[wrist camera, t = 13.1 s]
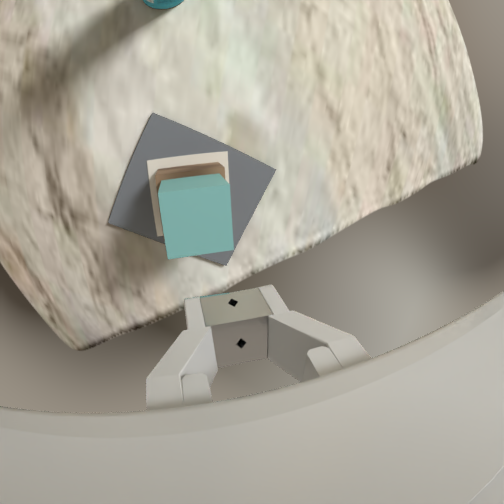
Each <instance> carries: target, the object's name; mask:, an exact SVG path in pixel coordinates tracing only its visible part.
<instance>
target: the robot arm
mask: <svg viewBox="0 0 504 504" xmlns="http://www.w3.org/2000/svg"><path fill="white" fill-rule="evenodd" d="M184 306H185V314H186V322H187V330H184V331H182V333H181V334H180V335H179V336H178V338H177V339H176V340H175V342H174V343H173V344H172V346H171V347H170V348H169V350H168V351H167V352H166V353H165V355H164V356H163V357H162V359H161V360H160V361H159V363H158V364H157V365H156V366H155V368H154V369H153V370H152V372H151V373H150V374H149V376H148V377H147V379H146V405H147V411H133V412H113V413H68V412H49V411H36V410H26V409H17V408H9V407H3V406H0V504H504V291H503V292H501V293H500V294H498V295H496V296H495V297H494V298H492V299H490V300H489V301H487V302H485V303H484V304H482V305H480V306H479V307H477V308H475V309H474V310H472V311H470V312H468V313H467V314H465V315H463V316H461V317H459V318H458V319H456V320H454V321H452V322H450V323H448V324H446V325H444V326H442V327H441V328H439V329H437V330H435V331H433V332H431V333H429V334H427V335H424V336H422V337H420V338H418V339H416V340H414V341H412V342H409V343H407V344H405V345H403V346H400V347H398V348H396V349H393V350H391V351H389V352H386V353H384V354H382V355H379V356H377V357H374V358H371V357H370V356H369V355H368V353H367V352H366V351H365V349H364V348H363V347H362V346H361V344H360V343H359V342H358V341H357V339H356V338H355V337H354V336H353V335H351V334H348V333H346V332H343V331H340V330H338V329H336V328H333V327H331V326H329V325H326V324H324V323H321V322H319V321H317V320H314V319H312V318H310V317H307V316H305V315H302V314H300V313H298V312H296V311H289V310H288V308H287V307H286V305H285V303H284V302H283V300H282V299H281V297H280V296H279V294H278V293H277V291H276V289H275V288H274V286H273V285H267V286H262V287H258V288H254V289H248V290H243V291H238V292H232V293H223V294H216V295H208V296H201V297H200V298H199V297H193V298H187V299H184ZM266 358H268V359H269V360H270V361H271V362H273V363H274V364H275V365H277V366H278V367H280V368H281V369H282V370H284V371H285V372H287V373H288V374H290V375H291V376H292V377H294V378H295V379H297V380H298V381H300V383H296V384H292V385H289V386H285V387H281V388H278V389H274V390H269V391H265V392H261V393H257V394H252V395H248V396H243V397H238V398H233V399H228V400H223V401H217V402H213V400H212V396H211V392H210V386H211V384H212V382H213V379H214V377H215V375H216V372H217V370H218V368H220V367H225V366H230V365H235V364H239V363H244V362H250V361H255V360H261V359H266Z"/></svg>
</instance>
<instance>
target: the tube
mask: <svg viewBox="0 0 504 504" xmlns="http://www.w3.org/2000/svg"><path fill="white" fill-rule="evenodd" d="M143 1H144V3H145V4H146V5H148V6H150V7H152V8H155V9H167V8H171V7H174V6H176V5H178V4H180V3H181V2H183V1H184V0H143Z"/></svg>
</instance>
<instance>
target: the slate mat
mask: <svg viewBox="0 0 504 504" xmlns="http://www.w3.org/2000/svg"><path fill="white" fill-rule="evenodd" d="M212 162H219V163H220V164H221V165H223V166H224V167H225V180H226V181H227V182H228V183H229V184H230V195H231V212H232V228H233V243H234V250H235V248H236V246H237V244H238V242H239V240H240V238H241V236H242V234H243V232H244V230H245V228H246V226H247V225H248V223H249V221H250V219H251V217H252V215H253V213H254V211H255V209H256V207H257V205H258V203H259V201H260V200H261V198H262V196H263V194H264V192H265V190H266V188H267V186H268V184H269V182H270V181H271V179H272V177H273V175H274V173H275V171H276V169H274V168H272V167H270V166H268V165H266V164H264V163H262V162H260V161H258V160H256V159H254V158H252V157H250V156H248V155H246V154H244V153H242V152H240V151H238V150H236V149H234V148H232V147H230V146H228V145H226V144H224V143H221V142H219V141H217V140H215V139H213V138H211V137H208V136H206V135H204V134H202V133H200V132H197V131H195V130H193V129H191V128H188V127H186V126H184V125H181V124H179V123H177V122H174V121H172V120H169V119H167V118H165V117H162V116H160V115H157V114H155V113H152V115H151V117H150V119H149V121H148V123H147V125H146V127H145V129H144V132H143V134H142V136H141V138H140V140H139V143H138V145H137V147H136V150H135V152H134V154H133V157H132V159H131V161H130V164H129V166H128V169H127V171H126V174H125V176H124V179H123V182H122V184H121V187H120V190H119V192H118V195H117V198H116V201H115V204H114V207H113V210H112V213H111V216H110V219H109V222H108V223H110V224H113V225H115V226H118V227H121V228H123V229H126V230H129V231H131V232H134V233H137V234H139V235H142V236H145V237H147V238H150V239H153V240H155V241H158V242H161V243H164V244H165V241H164V237H163V231H162V224H161V218H160V211H159V204H158V196H157V188H156V180H155V174H156V172H157V170H158V169H162V168H169V167H177V166H185V165H193V164H202V163H212ZM234 250H230V251H223V252H216V253H209V254H202V255H197V256H200V257H202V258H205V259H208V260H211V261H214V262H217V263H219V264H222V265H225V266H226V265H227V263H228V261H229V260H230V258H231V256H232V254H233V252H234Z"/></svg>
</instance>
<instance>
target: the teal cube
mask: <svg viewBox="0 0 504 504" xmlns="http://www.w3.org/2000/svg"><path fill="white" fill-rule="evenodd" d="M158 198H159V206H160V213H161V220H162V226H163V233H164V239H165V245H166V251H167V256H168V259H174V258H181V257H188V256H195V255H202V254H209V253H216V252H223V251H230V250H234V243H233V228H232V212H231V195H230V184H229V183H228V182H227V181H226V180H225V179H224V178H223V177H222V176H221V175H220V174H219V173H218V174H209V175H200V176H191V177H183V178H176V179H168V180H161V184H160V187H159V191H158Z"/></svg>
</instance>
